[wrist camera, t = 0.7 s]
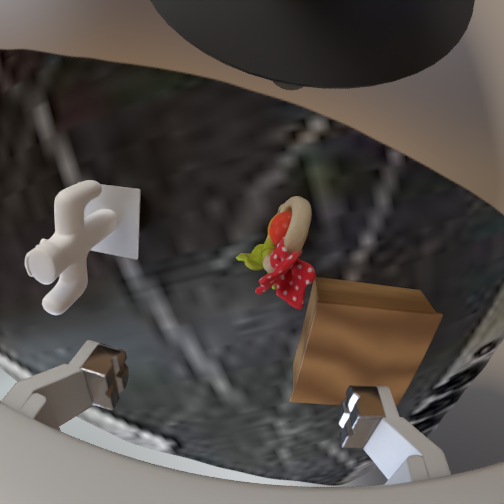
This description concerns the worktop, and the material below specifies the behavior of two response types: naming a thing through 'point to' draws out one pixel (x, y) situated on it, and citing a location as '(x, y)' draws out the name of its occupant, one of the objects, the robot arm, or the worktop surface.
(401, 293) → the wooden block
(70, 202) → the figurine
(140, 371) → the worktop surface
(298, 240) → the bird rattle
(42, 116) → the worktop surface
